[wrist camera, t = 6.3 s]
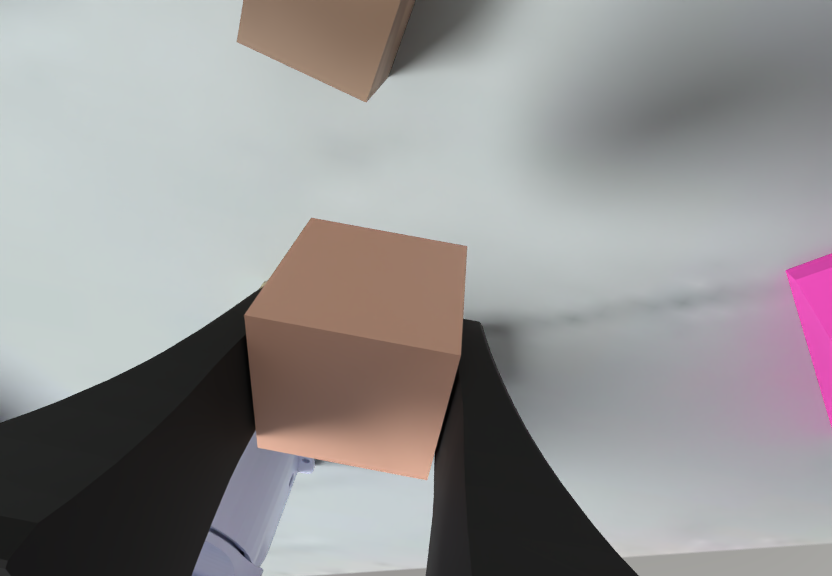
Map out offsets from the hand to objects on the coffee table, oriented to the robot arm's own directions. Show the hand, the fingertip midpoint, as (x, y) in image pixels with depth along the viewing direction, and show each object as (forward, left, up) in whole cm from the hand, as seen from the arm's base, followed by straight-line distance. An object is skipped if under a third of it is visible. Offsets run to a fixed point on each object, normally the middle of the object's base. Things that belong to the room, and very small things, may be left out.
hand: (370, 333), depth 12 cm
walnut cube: (+7, +3, -10) cm, 12 cm away
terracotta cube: (0, 0, -2) cm, 2 cm away
